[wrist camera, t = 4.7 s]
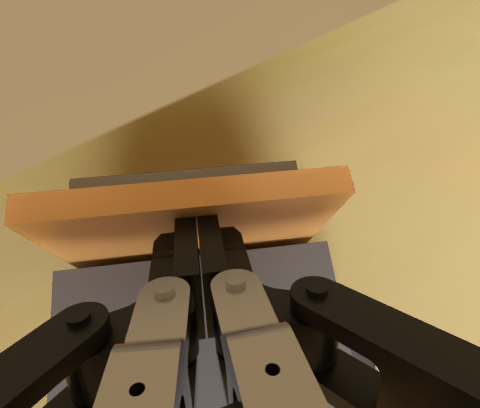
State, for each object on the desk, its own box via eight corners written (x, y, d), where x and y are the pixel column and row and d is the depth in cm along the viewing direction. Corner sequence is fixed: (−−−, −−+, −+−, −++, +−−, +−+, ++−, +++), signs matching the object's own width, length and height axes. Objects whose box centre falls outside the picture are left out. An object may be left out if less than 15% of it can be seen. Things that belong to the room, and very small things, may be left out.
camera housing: (113, 452, 22) (41, 537, 12) (111, 297, 25) (53, 271, 15) (341, 413, 23) (429, 462, 14) (313, 273, 26) (370, 236, 17)
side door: (118, 291, 24) (4, 225, 11) (117, 265, 25) (9, 170, 12) (278, 272, 26) (355, 192, 12) (274, 247, 26) (343, 145, 13)
